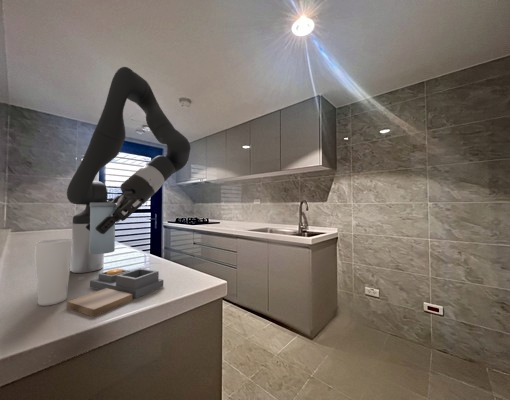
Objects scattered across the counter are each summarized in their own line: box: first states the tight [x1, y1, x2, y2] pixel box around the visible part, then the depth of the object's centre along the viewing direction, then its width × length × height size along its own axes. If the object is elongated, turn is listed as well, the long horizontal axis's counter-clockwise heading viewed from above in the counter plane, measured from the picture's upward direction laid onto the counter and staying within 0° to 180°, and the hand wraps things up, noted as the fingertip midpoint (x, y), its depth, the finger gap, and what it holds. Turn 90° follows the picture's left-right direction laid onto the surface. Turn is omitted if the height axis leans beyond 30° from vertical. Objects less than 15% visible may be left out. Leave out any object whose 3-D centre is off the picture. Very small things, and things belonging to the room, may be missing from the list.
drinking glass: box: [34, 238, 72, 307], centre depth 54 cm, size 7×7×15 cm
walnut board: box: [66, 288, 133, 318], centre depth 53 cm, size 10×9×2 cm
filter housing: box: [89, 267, 164, 299], centre depth 64 cm, size 19×9×4 cm, turn 67°
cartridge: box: [90, 203, 116, 255], centre depth 53 cm, size 5×5×12 cm
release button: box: [106, 268, 122, 275], centre depth 66 cm, size 4×4×2 cm
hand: (94, 230), depth 52 cm, fingers closed on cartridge, 5 cm apart
